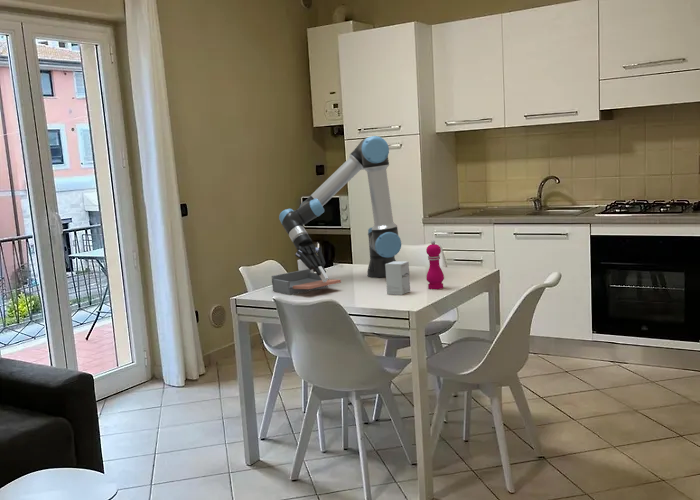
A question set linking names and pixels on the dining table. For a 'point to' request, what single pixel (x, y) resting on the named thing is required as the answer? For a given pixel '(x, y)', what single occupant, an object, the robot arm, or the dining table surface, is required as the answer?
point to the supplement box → (397, 277)
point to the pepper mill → (434, 267)
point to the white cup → (303, 266)
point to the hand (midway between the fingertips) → (325, 280)
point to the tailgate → (316, 284)
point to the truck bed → (294, 281)
